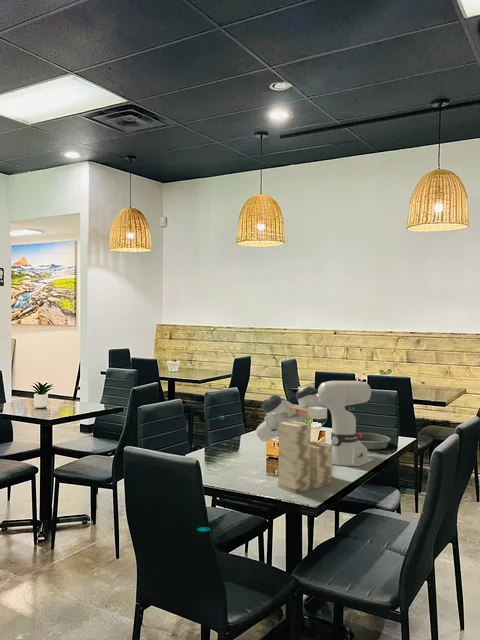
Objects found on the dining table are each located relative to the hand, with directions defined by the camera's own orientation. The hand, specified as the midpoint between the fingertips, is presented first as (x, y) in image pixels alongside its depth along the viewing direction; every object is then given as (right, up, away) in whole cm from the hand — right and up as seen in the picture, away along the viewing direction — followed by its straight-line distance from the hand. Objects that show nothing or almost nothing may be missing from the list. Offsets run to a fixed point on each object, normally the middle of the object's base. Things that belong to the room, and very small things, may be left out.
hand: (299, 410), depth 242 cm
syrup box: (+11, -29, +3) cm, 31 cm away
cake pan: (+44, -30, +68) cm, 86 cm away
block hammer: (+3, -2, -3) cm, 4 cm away
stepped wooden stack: (+1, -29, -11) cm, 31 cm away
